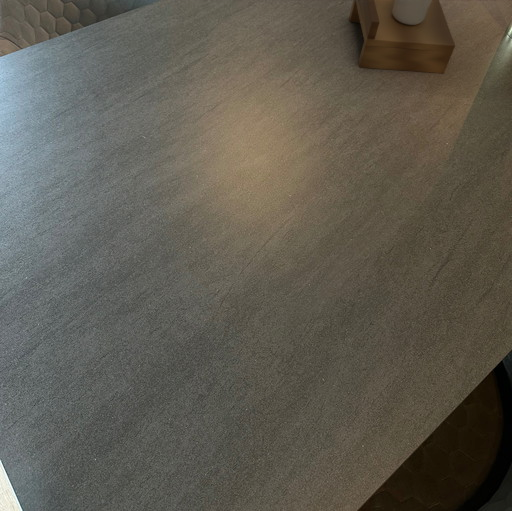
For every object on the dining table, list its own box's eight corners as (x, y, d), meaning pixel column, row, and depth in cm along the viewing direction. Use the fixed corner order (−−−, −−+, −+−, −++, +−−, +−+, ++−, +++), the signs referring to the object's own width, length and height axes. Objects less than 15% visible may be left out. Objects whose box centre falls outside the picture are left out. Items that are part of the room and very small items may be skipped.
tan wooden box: (427, 24, 109) (443, -21, 102) (443, 73, 101) (462, 28, 94) (348, 17, 108) (360, -28, 101) (358, 67, 100) (372, 21, 93)
